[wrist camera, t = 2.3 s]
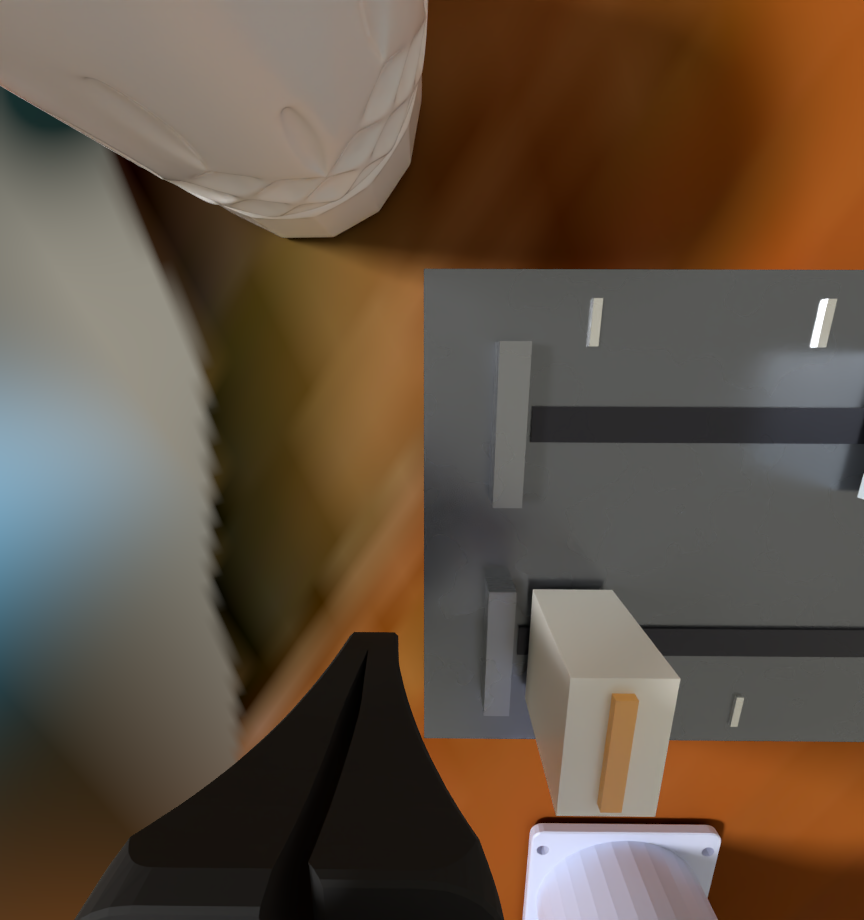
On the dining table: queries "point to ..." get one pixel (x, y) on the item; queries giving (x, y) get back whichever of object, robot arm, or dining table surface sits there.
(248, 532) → the dining table surface
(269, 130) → the white cup
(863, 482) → the fader bluegrey
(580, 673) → the fader cream
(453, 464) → the console
